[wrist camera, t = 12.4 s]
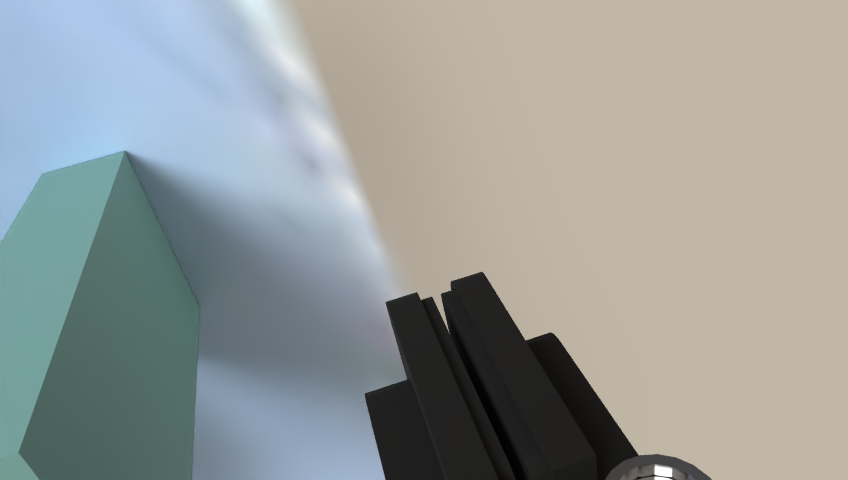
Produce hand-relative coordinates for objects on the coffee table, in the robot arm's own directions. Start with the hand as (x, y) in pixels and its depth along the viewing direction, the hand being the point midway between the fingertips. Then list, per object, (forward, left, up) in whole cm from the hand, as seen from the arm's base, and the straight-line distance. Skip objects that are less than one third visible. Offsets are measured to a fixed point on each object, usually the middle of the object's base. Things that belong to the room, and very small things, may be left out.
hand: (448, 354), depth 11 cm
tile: (0, +6, -8) cm, 11 cm away
